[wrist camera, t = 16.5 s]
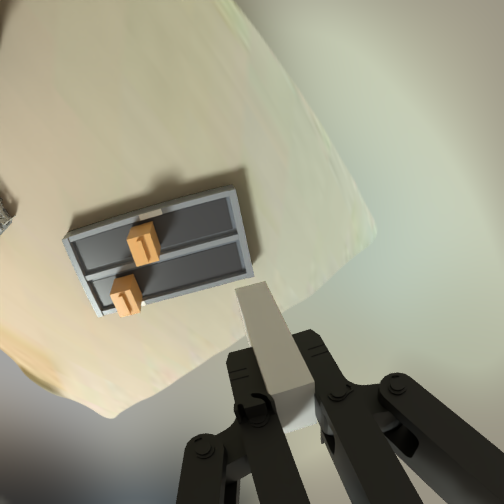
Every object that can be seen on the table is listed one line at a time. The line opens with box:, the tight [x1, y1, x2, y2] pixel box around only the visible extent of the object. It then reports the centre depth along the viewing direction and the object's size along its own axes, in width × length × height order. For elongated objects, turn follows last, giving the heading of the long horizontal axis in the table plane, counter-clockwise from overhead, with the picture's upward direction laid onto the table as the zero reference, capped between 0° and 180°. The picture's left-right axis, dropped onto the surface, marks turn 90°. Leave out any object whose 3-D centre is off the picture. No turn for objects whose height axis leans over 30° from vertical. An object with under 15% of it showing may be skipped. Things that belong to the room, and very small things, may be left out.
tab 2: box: [127, 221, 161, 267], centre depth 42 cm, size 4×3×5 cm
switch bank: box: [62, 184, 254, 317], centre depth 46 cm, size 14×26×3 cm, turn 101°
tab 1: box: [110, 274, 143, 317], centre depth 44 cm, size 4×3×5 cm
